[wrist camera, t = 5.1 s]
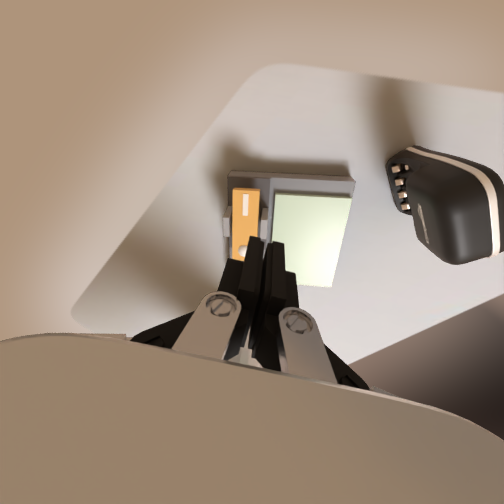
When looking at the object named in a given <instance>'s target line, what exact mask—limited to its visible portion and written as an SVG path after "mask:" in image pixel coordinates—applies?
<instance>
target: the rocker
mask: <svg viewBox="0 0 504 504" xmlns="http://www.w3.org/2000/svg"><path fill="white" fill-rule="evenodd" d="M259 200H260V189H251V188H234V189H233V211H232V259H236V260H240V261H244V258H245V254H246V250H247V245H248V241H249V237H250V236H255V237H258V220H259Z"/></svg>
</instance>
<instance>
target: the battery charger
mask: <svg viewBox="0 0 504 504" xmlns="http://www.w3.org/2000/svg"><path fill="white" fill-rule="evenodd" d="M386 168H387V174H388V178H389V182H390V186H391V190H392V193H393V197H394V201H395V204H396V207H397V209H398V210H399V211H400V212H402V213H405V214H408V215H412V216H413V220H414V226H415V231H416V235H417V238H418V240H419V241H420V242H421V243H423V244H424V245H425V246H426V247H427V248H428V249H429V250H430V251H431V252H432V253H434V254H435V255H436V256H437V257H438V258H440V259H441V260H442V261H444V262H447V263H449V264H452V265H460V264H465V263H468V262H471V261H475V260H478V259H481V258H490V257H494V256H496V255H498V253H501V252H503V251H504V184H503V181H502V180H501V178H500V177H499V175H498V174H497V173H495V172H494V171H493V170H492V169H490V168H488V167H486V166H484V165H481V164H479V163H476V162H473V161H470V160H467V159H464V158H460V157H457V156H453V155H449V154H445V153H441V152H436V151H432V150H429V149H426V148H423V147H420V146H417V145H415V146H412V147H408V148H406V149H405V150H404V151H401V152H399V153H398V154H396V155H395V156H393V157H392V158H391V159H390V160H389V161H388V163H387V166H386Z"/></svg>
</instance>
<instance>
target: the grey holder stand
mask: <svg viewBox="0 0 504 504" xmlns="http://www.w3.org/2000/svg"><path fill="white" fill-rule="evenodd" d="M355 183H356V181H355V180H354V179H353V178H352V177H349V176H329V175H308V174H288V173H268V172H247V171H231V172H230V173H229V175H228V207H227V210H226V212H225V214H224V216H223V236H224V237H229V247H230V258H231V259H232V211H233V189H234V188H251V189H260V200H259V220H258V237H259V238H261V241H263V242H265V243H264V254H265V251H266V247H267V244H268V243H272V241H277V242H281V243H284V247H285V270H286V271H290V272H294V273H295V274H296V281H297V285H306V286H319V287H331V286H332V282H333V277H334V273H335V269H336V265H337V261H338V256H339V252H340V248H341V244H342V240H343V235H344V231H345V227H346V223H347V219H348V215H349V210H350V206H351V202H352V196H353V192H354V188H355ZM264 254H263V258H264Z"/></svg>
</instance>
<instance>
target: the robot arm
mask: <svg viewBox="0 0 504 504" xmlns="http://www.w3.org/2000/svg"><path fill="white" fill-rule="evenodd" d="M264 243H265V242H263V241H261V238H259V237H255V236H250V237H249V241H248V245H247V250H246V254H245V258H244V261H240V260H236V259H231V258H228V260H227V263H226V266H225V269H224V272H223V275H222V278H221V281H220V285H219V288H218V291H216V292H212V293H209V294H208V295H206V296H205V297H204V298H203V299H202V301H201V303H200V304H199V306H198V307H197V309H196V311H193V312H191V313H188V314H186V315H183V316H181V317H178V318H176V319H173V320H171V321H168V322H166V323H163V324H160V325H158V326H155V327H153V328H150V329H148V330H145V331H143V332H141V333H139V334H137V335H135V336H134V337H126V334H77V333H45V334H35V335H27V336H21V337H16V338H11V339H6V340H2V341H0V504H504V441H503V440H502V439H500V438H499V437H497V436H496V435H494V434H492V433H491V432H489V431H488V430H486V429H484V428H482V427H480V426H478V425H477V424H475V423H473V422H471V421H469V420H467V419H464V418H462V417H460V416H457V415H455V414H453V413H450V412H447V411H444V410H441V409H439V408H436V407H433V406H429V405H425V404H421V403H418V402H414V401H410V400H406V399H402V398H400V397H397V396H395V395H393V394H391V393H388V392H386V391H384V390H381V389H379V388H377V387H374V386H373V387H372V389H370V388H369V387H368V385H367V384H366V383H365V382H364V381H363V380H362V378H360V376H358V375H357V374H356V373H355V372H354V371H353V370H352V369H351V368H350V367H349V366H348V365H347V364H345V363H344V362H343V361H342V360H341V359H340V358H339V357H338V356H337V355H336V354H335V353H333V352H332V351H331V350H330V349H329V348H328V347H327V346H326V345H325V344H324V343H323V340H322V338H321V335H320V332H319V329H318V326H317V323H316V321H315V320H314V318H313V317H312V316H311V315H310V314H309V313H307V312H306V311H304V310H302V309H300V308H299V301H298V291H297V281H296V274H295V273H294V272H290V271H286V270H285V247H284V243H281V242H277V241H272V243H268V244H267V247H266V251H265V254H264ZM263 254H264V258H263Z"/></svg>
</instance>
